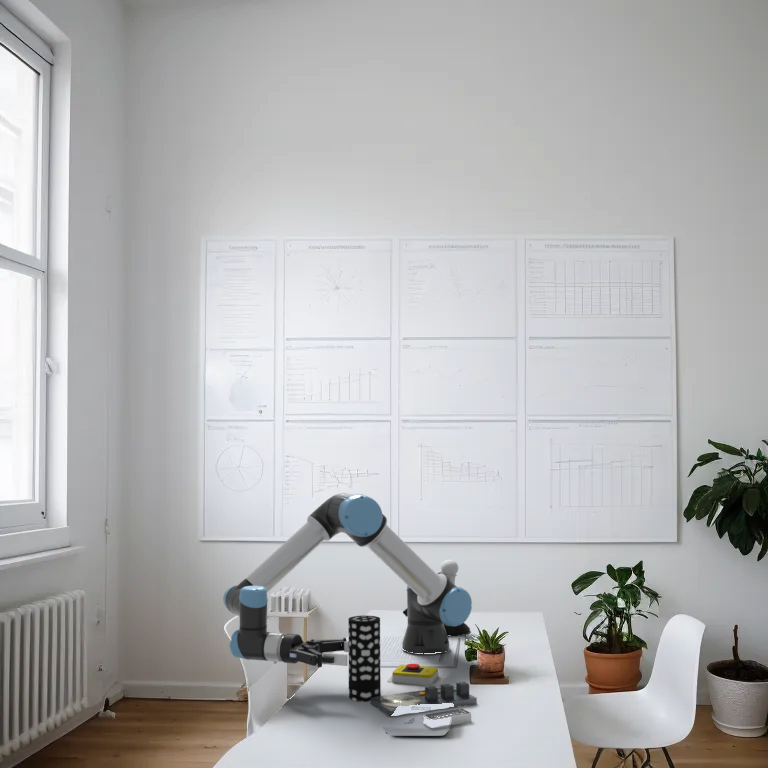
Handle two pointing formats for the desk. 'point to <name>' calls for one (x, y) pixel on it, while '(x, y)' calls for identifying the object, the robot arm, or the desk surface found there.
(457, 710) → the multiport hub
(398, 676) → the emergency button
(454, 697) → the breaker board
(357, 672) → the spotted tube
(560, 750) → the desk surface
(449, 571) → the sculpture
